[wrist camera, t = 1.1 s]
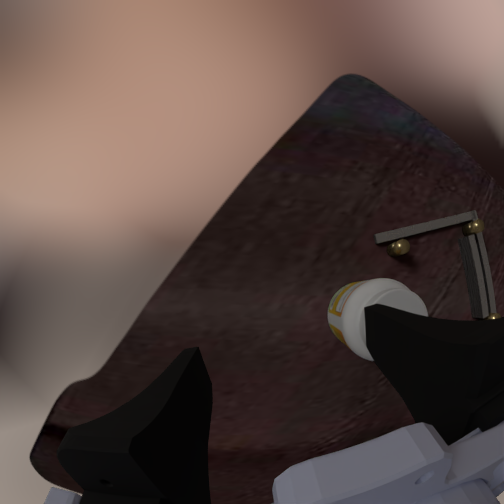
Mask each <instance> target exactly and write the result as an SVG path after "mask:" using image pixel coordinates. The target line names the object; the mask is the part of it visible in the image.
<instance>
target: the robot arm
mask: <svg viewBox="0 0 504 504" xmlns="http://www.w3.org/2000/svg"><path fill="white" fill-rule="evenodd" d="M364 313H365V331H366V347H367V349H368V351H369V353H370V355H371V356H372V358H373V360H374V362H375V363H376V365H377V366H378V367H379V369H380V370H381V371H382V372H383V374H384V375H385V376H386V378H387V379H388V380H389V381H390V383H391V384H392V385H393V387H394V388H395V389H396V390H397V392H398V393H399V394H400V396H401V397H402V399H403V400H404V402H405V404H406V405H407V407H408V409H409V411H410V412H411V414H412V416H413V418H414V420H415V422H416V424H413V425H409V426H406V427H402V428H400V429H397V430H395V431H393V432H390V433H388V434H385V435H383V436H380V437H378V438H375V439H372V440H370V441H367V442H364V443H361V444H358V445H356V446H353V447H350V448H346V449H343V450H340V451H337V452H334V453H330V454H327V455H323V456H319V457H316V458H312V459H309V460H306V461H304V462H301V463H299V464H296V465H293V466H291V467H289V468H288V469H287V470H286V471H284V472H283V473H282V474H280V475H279V476H278V477H277V478H275V480H274V484H273V489H272V490H273V497H274V503H271V504H500V502H499V501H498V500H497V498H496V497H497V496H498V495H499V494H501V493H502V492H503V491H504V317H502V318H497V319H489V320H478V321H458V320H446V319H438V318H432V317H427V316H423V315H418V314H414V313H411V312H407V311H404V310H400V309H397V308H393V307H390V306H386V305H382V304H373V305H370V306H367V307H364ZM212 403H213V402H212V383H211V380H210V378H209V375H208V372H207V369H206V367H205V364H204V361H203V358H202V356H201V353H200V350H199V347H194V348H188V349H184V350H183V351H182V352H181V353H180V354H179V355H178V356H177V358H176V359H175V360H174V361H173V362H172V363H171V364H170V365H169V366H168V367H167V369H166V370H165V371H164V372H163V373H162V374H161V375H160V376H159V377H158V378H157V379H156V380H155V381H154V382H152V383H151V384H150V385H149V386H148V387H147V388H146V389H145V390H144V391H142V392H141V393H140V394H138V395H137V396H136V397H134V398H133V399H132V400H130V401H129V402H127V403H125V404H124V405H122V406H121V407H119V408H117V409H116V410H114V411H112V412H110V413H108V414H106V415H104V416H102V417H100V418H97V419H95V420H93V421H90V422H87V423H84V424H81V425H78V426H75V427H72V428H69V430H68V431H67V433H66V435H65V437H64V439H63V441H62V442H61V444H60V446H59V448H58V450H57V458H58V460H59V462H60V464H61V465H62V467H63V468H64V469H65V470H66V472H67V473H68V474H69V475H70V476H71V477H72V478H73V479H74V480H75V481H76V482H77V483H78V484H79V485H80V486H81V487H82V488H83V489H84V492H83V495H82V496H80V495H78V494H77V493H74V492H71V491H66V490H62V489H59V488H54V487H52V488H51V489H50V491H49V494H48V496H47V498H46V500H45V502H44V504H211V500H210V490H209V476H208V439H209V430H210V421H211V413H212Z"/></svg>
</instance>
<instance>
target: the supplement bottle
mask: <svg viewBox="0 0 504 504" xmlns="http://www.w3.org/2000/svg"><path fill="white" fill-rule="evenodd" d="M373 304H382V305H386V306H390V307H393V308H397V309H400V310H404V311H407V312H411V313H414V314H418V315H423V316H427V317H428V313H427V309H426V306H425V304H424V302H423V301H422V300H421V298H420V297H419V296H418V295H417V294H415V293H414V292H412V291H410V290H409V289H408V288H407V287H406V286H405V285H404V284H402V283H400V282H398V281H396V280H393V279H386V278H378V279H372V280H366V281H360V282H354V283H350V284H348V285H346V286H344V287H342V288H341V289H340V290H339V291H338V292H337V293H336V294H335V295H334V296H333V298H332V300H331V302H330V305H329V308H328V322H329V326H330V328H331V330H332V332H333V333H334V335H335V336H336V337H337V338H338V339H339V340H340V341H342V342H343V343H344V344H345V345H346V346H347V347H348V348H350V349H351V350H352V351H353V352H354V353H356V354H357V355H358V356H360V357H362V358H364V359H367V360H370V361H374V360H373V358H372V356H371V355H370V353H369V351H368V349H367V347H366V331H365V313H364V307H367V306H370V305H373Z"/></svg>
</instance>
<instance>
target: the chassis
mask: <svg viewBox="0 0 504 504" xmlns="http://www.w3.org/2000/svg"><path fill="white" fill-rule="evenodd" d="M466 221H470V222H471V223H468V224H466V225H464V226H463V228H462V232H463V234H464V235H465V236H466V237H464V238H461V239H458V243H459V247H460V251H461V256H462V260H463V265H464V270H465V275H466V280H467V286H468V292H469V298H470V305H471V312H472V317H474V318H479V320H489V319H497V318H501V315H500V314H499V313H496V305H495V297H494V290H493V284H492V278H491V272H490V267H489V262H488V257H487V252H486V248H485V244H484V239H483V235H482V231H483V230H484V223H483V221H482V220H481V219H478V217H477V213H476V210H475V211H471V212H467V213H462V214H458V215H454V216H450V217H446V218H442V219H438V220H434V221H429V222H425V223H421V224H417V225H413V226H408V227H404V228H400V229H396V230H391V231H387V232H383V233H379V234H375V235H373V236H374V240H375V244H379V243H383V242H387V241H391V240H395V239H399V238H403V237H407V236H411V235H415V234H419V233H423V232H427V231H431V230H435V229H439V228H443V227H447V226H451V225H455V224H458V223H462V222H466ZM409 249H410V245H409V242H408V241H407V240H405V239H400V240H398V241H396V242H394V243H392V244H390V245H389V246H388V247H387V253H388V255H389V256H390V257H396V256H399V255H402V254H405V253H407V252H408V251H409Z"/></svg>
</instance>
